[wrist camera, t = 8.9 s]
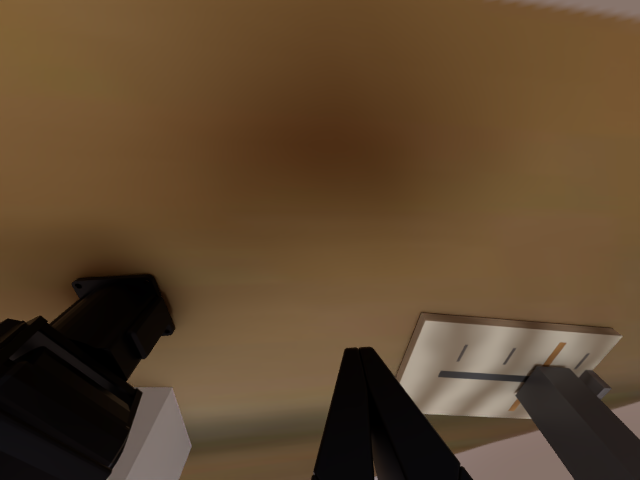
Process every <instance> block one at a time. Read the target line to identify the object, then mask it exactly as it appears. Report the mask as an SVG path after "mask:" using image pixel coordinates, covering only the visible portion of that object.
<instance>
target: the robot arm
mask: <svg viewBox="0 0 640 480" xmlns="http://www.w3.org/2000/svg"><path fill="white" fill-rule="evenodd" d="M146 280H148V281H149V282H148V281H146ZM72 287H73V288H74V290H75V292H76V293H77V295H78V297H79V298H80V299H79V300H77V301H76V302H75V303H74V304H73V305H71V306H70V307H69V308H68V309H67V310H65V311H64V312H63V313H62V314H61V315H59V316H58V317H57V318H56V319H55V320H53V321H52V322H51V323H50V324H48V323H47V322H48V321H47V320H46V319H44V318H43V317H42V316H38V317H36V318H34V319H32V320H30V321H28V322H24V321H18V320H13V319H6V320H4V321H2V322H0V480H106V479H107V478H108V477H109V476H110V475H111V473H112V469H113V468H114V466H115V465H116V463H117V462H118V460H119V458H120V456H121V454H122V452H123V450H124V447H125V445H126V442H127V439H128V436H129V433H130V430H131V427H132V424H133V421H134V418H135V415H136V412H137V409H138V406H139V403H140V400H141V397H142V394H143V392H142V391H140V390H139V389H138V388H136V389H135V388H134V387H132V386H131V385H130V384H128V383H127V382H126V381H127V380H128V378H129V377H130V375H131V374H132V372H133V371H134V369H135V368H136V366H137V365H138V363H139V362H140V360H141V359H145V358H146V357H147V356H148V355H149V353H150V352H151V350H152V349H153V347H154V346H155V344H156V343H157V341H158V340H159V338H160V337H161V336H168V335H172V333H173V332H174V330H175V328H174V325H173V323H172V320H171V317H170V315H169V312H168V310H167V307H166V305H165V302H164V300H163V298H162V296H161V293H160V291H159V288H158V286H157V283H156V281H155V279H154V277H153V276H151V275H128V276H110V277H91V278H78V279H76V280H75V281H74V282H72ZM373 461H374V465H375V469H376V473H377V478H378V480H473V479H472V478H471V476H470V475H469V474H468V472H467V471H466V470H465V468H464V467H462V466H461V467H460V462H459V461H458V459H457V458H456V457H455V455H454V454H453V453H452V451H451V450H450V449H449V447H448V446H447V445H446V444H445V442H444V441H443V440H442V438H441V437H440V436H439V434H438V433H437V432H436V430H435V429H434V428H433V426H432V425H431V424H430V422H429V421H428V420H427V418H426V417H425V416H424V415H423V413H422V412H421V411H420V409H419V408H418V407H417V405H416V404H415V403H414V401H413V400H412V399H411V397H410V396H409V395H408V393H407V392H406V391H405V390H404V388H403V387H402V386H401V384H400V383H399V382H398V380H397V379H396V378H395V376H394V375H393V374H392V372H391V371H390V370H389V368H388V367H387V366H386V364H385V363H384V362H383V361H382V359H381V358H380V357H379V355H378V354H377V353H376V351H375V350H374V349H373V348H372V347H360V348H359V349H358V348H346V349H345V350H344V354H343V358H342V362H341V366H340V370H339V373H338V377H337V381H336V385H335V389H334V393H333V397H332V401H331V405H330V409H329V412H328V416H327V420H326V424H325V428H324V432H323V436H322V440H321V444H320V448H319V451H318V455H317V459H316V463H315V467H314V471H313V473H314V475H312V478H311V480H374V467H373Z"/></svg>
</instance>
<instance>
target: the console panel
mask: <svg viewBox="0 0 640 480" xmlns="http://www.w3.org/2000/svg"><path fill="white" fill-rule="evenodd" d="M622 337H623V336H622V335H621V334H619V333H618V332H617V331H615V330H614V329H613V328H602V327H590V326H577V325H565V324H553V323H541V322H528V321H516V320H504V319H491V318H479V317H467V316H454V315H442V314H430V313H421V315H420V317H419V320H418V322H417V325H416V328H415V330H414V333H413V335H412V338H411V340H410V343H409V345H408V348H407V350H406V353H405V355H404V358H403V360H402V363H401V365H400V368H399V370H398V373H397V375H396V379H397V380H398V382H399V383H400V384H401V386H402V387H403V388H404V390H405V391H406V392H407V393H408V395H409V396H410V397H411V399H412V400H413V401H414V403H415V404H416V405H417V407H418V408H419V409H420V411H421V412H422V413H423V414H439V415H460V416H481V417H503V418H524V419H531V417H530V416H529V414H528V413H527V411H526V410H525V409H524V407H523V406H522V404H521V403H520V401H519V400H518V399H517V397H516V396H515V395H516V394H517V392H518V391H519V390H520V388H521V387H522V386H523V384H524V383H525V382H526V380H527V379H528V378H529V376H530V375H531V374H532V372H533V371H534V370H535V368H536V367H537V366H543V367H558V368H570V369H571V370H572V371H573V372H574V373H575V374H576V375H577V376H578V378H579V379H580V380H581V381H582V382H583V383H584V384H585V385H586V386H587V387H588V388H589V389H590V390H591V391H592V392H593V393H594V394H595V395H596V396H597V397H598V398H599V399H600V400H601V399H602V398H603V397H604V396H605V395H606V394H607V393H608V392H609V391H610V390H611V389H612V388H611V387H610V386H608V385H607V384H606V383H605V382H604V381H603V380H602V379H601V378H600V377H599V376H598V375H597V374H596V373H595V372H594V371H593V369H594V368H595V367H596V366H597V365H598V363H599V362H600V361H601V360H602V359H603V358H604V357H605V356H606V355H607V353H608V352H609V351H610V350H611V349H612V348H613V347H614V346H615V344H616V343H617V342H618V341H619V340H620V339H621V338H622Z"/></svg>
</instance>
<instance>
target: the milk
mask: <svg viewBox="0 0 640 480" xmlns="http://www.w3.org/2000/svg"><path fill="white" fill-rule="evenodd" d="M134 388H135V389H136V388H138V389H139V390H140V391H142V392H143V394H142V397H141V400H140V403H139V406H138V409H137V412H136V415H135V418H134V421H133V424H132V427H131V430H130V433H129V436H128V439H127V442H126V445H125V447H124V450H123V452H122V454H121V456H120V458H119V460H118V462H117V463H116V465H115V466H114V468H113V469H112V473H111V475H110V476H109V477H108V478H107V479H106V480H179V478H180V475H181V472H182V470H183V467H184V465H185V462H186V460H187V457H188V455H189V452H190V449H191V447H192V445H191V442H190V439H189V436H188V433H187V430H186V427H185V424H184V421H183V418H182V415H181V412H180V409H179V406H178V403H177V400H176V397H175V394H174V391H173V388H172V387H134Z"/></svg>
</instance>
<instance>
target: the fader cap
mask: <svg viewBox="0 0 640 480" xmlns="http://www.w3.org/2000/svg"><path fill="white" fill-rule="evenodd" d="M515 396H516V397H517V399H518V400H519V401H520V403H521V404H522V406H523V407H524V409H525V410H526V411H527V413H528V414H529V416H530V417H531V419H532V420H533V421H534V423H535V424H536V426H537V427H538V428H539V430H540V431H541V433H542V434H543V436H544V437H545V438H546V439H547V441H548V443H549V444H550V445H551V447H552V448H553V450H554V451H555V453H556V454H557V455H558V457H559V458H560V459H561V461H562V462H563V464H564V465H565V466H566V468H567V470H568V471H569V472H570V474H571V475H572V477H573V478H574V480H640V440H639V439H638V437H637V436H635V434H634V433H633V432H632V431H631V430H629V428H628V427H627V426H626V425H625V424H624V423H622V421H621V420H620V419H619V418H618V417H617V416H616V415H615V414H614V413H613V412H612V411H611V410H610V409H609V408H608V407H607V406H606V405H605V404H604V403H603V402H602V401H601V400H600V399H599V398H598V397H597V396H596V395H595V394H594V393H593V392H592V391H591V390H590V389H589V388H588V387H587V386H586V385H585V384H584V383H583V382H582V381H581V380H580V379H579V378H578V376H577V375H576V374H575V373H574V372H573V371H572V370H571V369H570V368H558V367H543V366H537V367H536V368H535V370H534V371H533V372H532V374H531V375H530V376H529V378H528V379H527V380H526V382H525V383H524V384H523V386H522V387H521V388H520V390H519V391H518V392H517V394H516V395H515Z"/></svg>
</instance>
